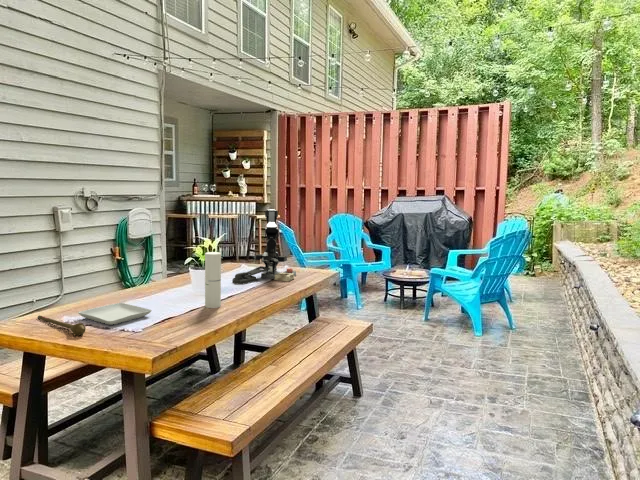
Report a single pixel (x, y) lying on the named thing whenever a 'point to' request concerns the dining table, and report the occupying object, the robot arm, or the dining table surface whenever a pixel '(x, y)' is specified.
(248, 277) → the dark grey stapler
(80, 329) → the ball ended rod
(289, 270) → the release button
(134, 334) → the dining table surface
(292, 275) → the rack
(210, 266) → the cylindrical container
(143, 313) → the salad plate
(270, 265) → the drill peg
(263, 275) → the socket block
